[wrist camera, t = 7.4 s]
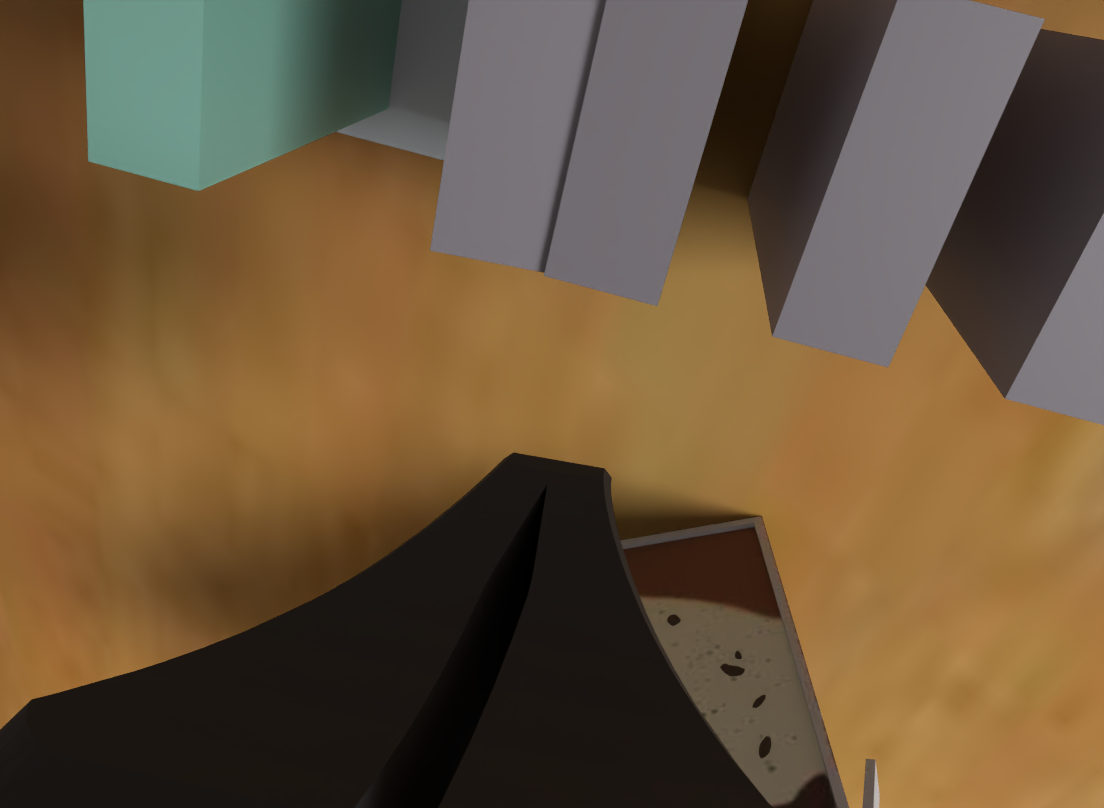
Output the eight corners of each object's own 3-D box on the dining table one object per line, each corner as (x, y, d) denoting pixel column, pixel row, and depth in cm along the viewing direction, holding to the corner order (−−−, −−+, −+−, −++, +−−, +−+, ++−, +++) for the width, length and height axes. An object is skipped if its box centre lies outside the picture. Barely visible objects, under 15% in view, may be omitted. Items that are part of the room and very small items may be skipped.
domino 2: (580, -82, 17) (626, -85, 10) (535, 144, 19) (545, 272, 12) (500, -102, 17) (486, -120, 10) (462, 128, 19) (430, 250, 12)
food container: (459, 734, 28) (342, 1095, 19) (386, 580, 25) (213, 909, 16) (862, 688, 24) (951, 1100, 15) (821, 505, 22) (899, 868, 13)
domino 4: (901, -1, 17) (1045, 18, 10) (819, 217, 19) (888, 367, 12) (820, -22, 17) (903, -17, 10) (747, 199, 19) (772, 336, 12)
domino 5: (1066, 39, 17) (1333, 90, 10) (965, 255, 19) (1123, 430, 12) (983, 19, 17) (1188, 54, 10) (892, 236, 19) (1004, 398, 12)
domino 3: (739, -42, 17) (762, -51, 10) (675, 180, 19) (657, 306, 12) (659, -62, 17) (625, -85, 10) (604, 162, 19) (543, 275, 12)
